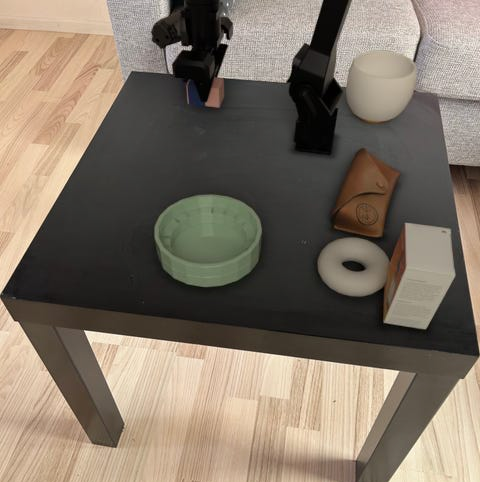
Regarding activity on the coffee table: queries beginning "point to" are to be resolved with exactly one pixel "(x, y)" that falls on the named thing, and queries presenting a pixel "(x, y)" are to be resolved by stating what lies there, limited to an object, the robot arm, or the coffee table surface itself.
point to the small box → (418, 275)
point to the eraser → (214, 96)
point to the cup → (380, 85)
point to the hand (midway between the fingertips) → (207, 95)
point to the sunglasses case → (364, 196)
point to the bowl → (208, 240)
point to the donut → (350, 280)
